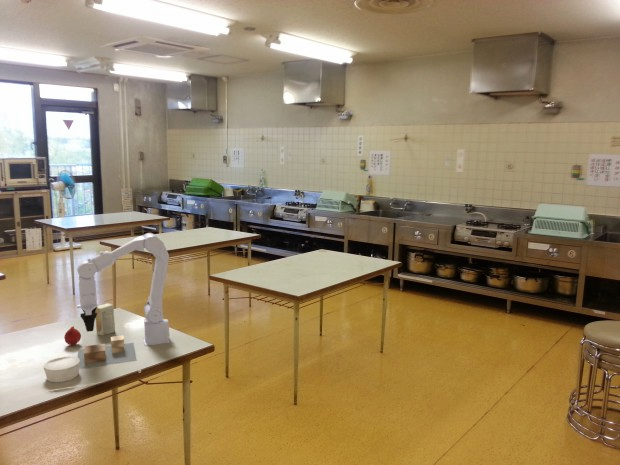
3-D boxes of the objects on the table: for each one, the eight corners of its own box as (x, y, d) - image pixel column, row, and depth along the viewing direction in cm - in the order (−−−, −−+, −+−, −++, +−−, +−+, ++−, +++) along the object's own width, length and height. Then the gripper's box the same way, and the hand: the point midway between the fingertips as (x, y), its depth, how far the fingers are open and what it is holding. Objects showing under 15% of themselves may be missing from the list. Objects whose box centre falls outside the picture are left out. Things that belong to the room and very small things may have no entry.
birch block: (123, 347, 190) (123, 335, 189) (124, 351, 186) (123, 339, 185) (111, 349, 188) (110, 336, 187) (111, 353, 184) (111, 341, 183)
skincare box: (109, 329, 209) (108, 302, 207) (115, 332, 206) (114, 304, 204) (95, 334, 204) (94, 306, 202) (101, 336, 201) (100, 308, 199)
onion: (74, 349, 188) (73, 329, 187) (61, 348, 189) (60, 328, 188) (84, 343, 194) (83, 324, 192) (71, 342, 195) (70, 323, 193)
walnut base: (105, 353, 184) (104, 343, 183) (105, 361, 177) (105, 350, 177) (85, 356, 181) (84, 346, 180) (84, 364, 174) (83, 353, 174)
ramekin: (68, 367, 173) (67, 353, 172) (88, 375, 167) (87, 360, 166) (37, 379, 163) (36, 364, 162) (57, 388, 158) (56, 372, 157)
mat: (133, 343, 195) (133, 342, 195) (136, 361, 178) (136, 360, 178) (78, 350, 187) (78, 349, 187) (76, 370, 170) (76, 369, 170)
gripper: (77, 289, 187) (79, 322, 190) (75, 299, 174) (77, 335, 177) (96, 287, 190) (99, 320, 192) (96, 297, 177) (99, 333, 179)
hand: (90, 327), depth 185 cm, fingers open, 7 cm apart
